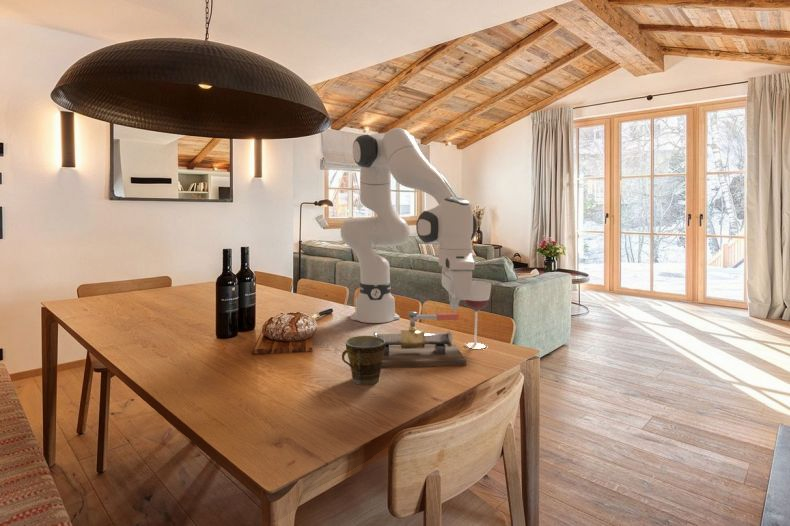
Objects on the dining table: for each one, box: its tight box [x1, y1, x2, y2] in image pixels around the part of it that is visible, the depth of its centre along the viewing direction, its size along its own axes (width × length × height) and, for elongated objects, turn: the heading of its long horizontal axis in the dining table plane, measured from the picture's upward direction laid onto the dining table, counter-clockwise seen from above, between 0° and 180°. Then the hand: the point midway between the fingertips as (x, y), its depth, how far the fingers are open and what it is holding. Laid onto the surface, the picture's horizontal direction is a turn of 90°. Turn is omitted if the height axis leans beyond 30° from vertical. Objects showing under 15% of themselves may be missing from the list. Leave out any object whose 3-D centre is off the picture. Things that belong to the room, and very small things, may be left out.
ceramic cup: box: [341, 335, 386, 386], centre depth 112 cm, size 13×10×10 cm
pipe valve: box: [373, 326, 453, 356], centre depth 130 cm, size 5×22×8 cm, turn 95°
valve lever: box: [407, 310, 460, 327], centre depth 130 cm, size 14×3×4 cm, turn 96°
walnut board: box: [381, 344, 467, 368], centre depth 131 cm, size 14×28×2 cm, turn 95°
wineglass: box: [464, 280, 492, 350], centre depth 141 cm, size 8×9×20 cm
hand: (453, 309), depth 124 cm, fingers closed
